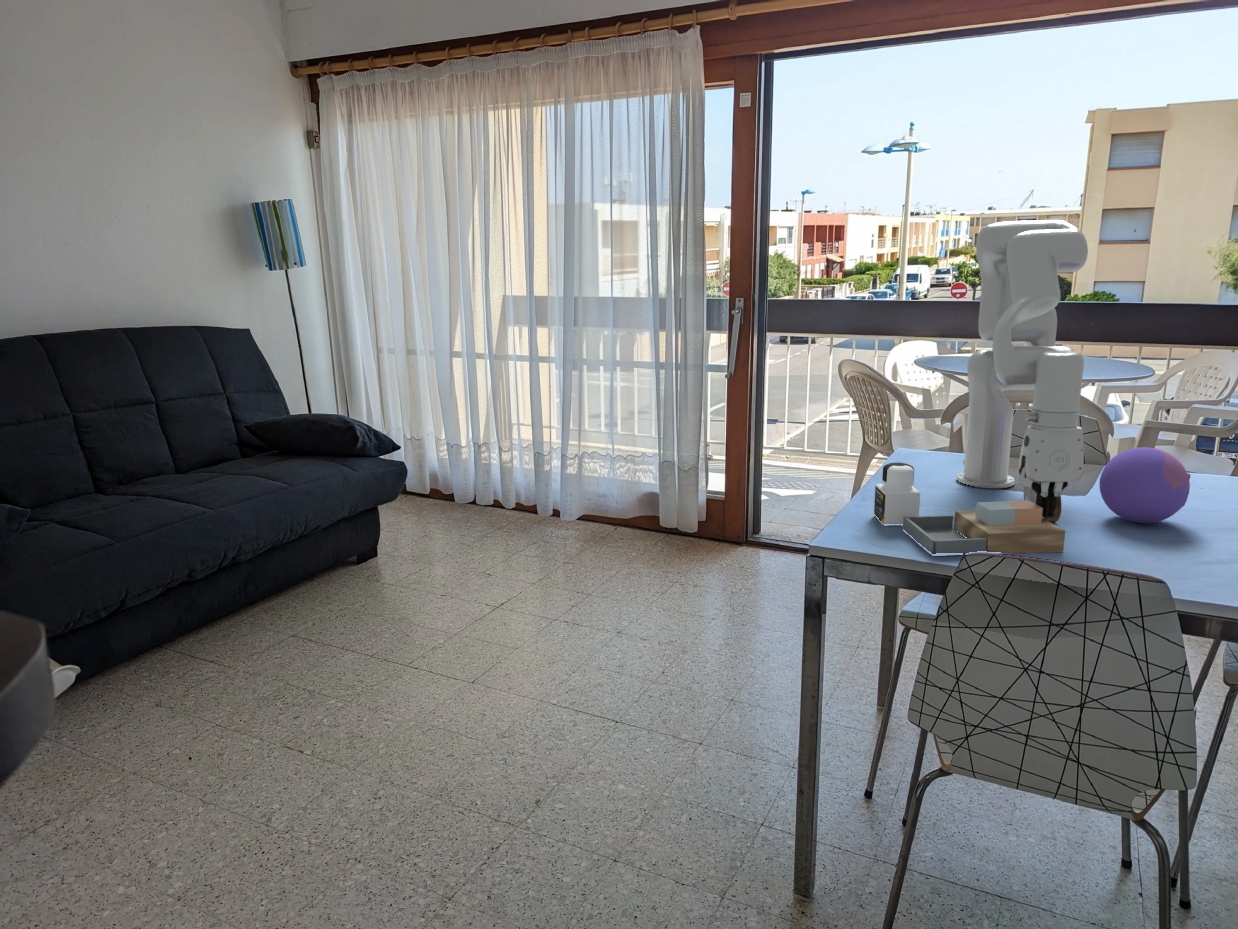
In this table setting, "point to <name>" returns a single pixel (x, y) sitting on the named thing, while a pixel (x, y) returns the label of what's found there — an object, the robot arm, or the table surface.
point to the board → (1011, 535)
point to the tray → (941, 535)
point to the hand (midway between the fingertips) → (1044, 514)
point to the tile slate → (995, 513)
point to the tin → (1031, 496)
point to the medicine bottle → (896, 494)
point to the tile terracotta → (1026, 512)
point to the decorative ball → (1144, 485)
